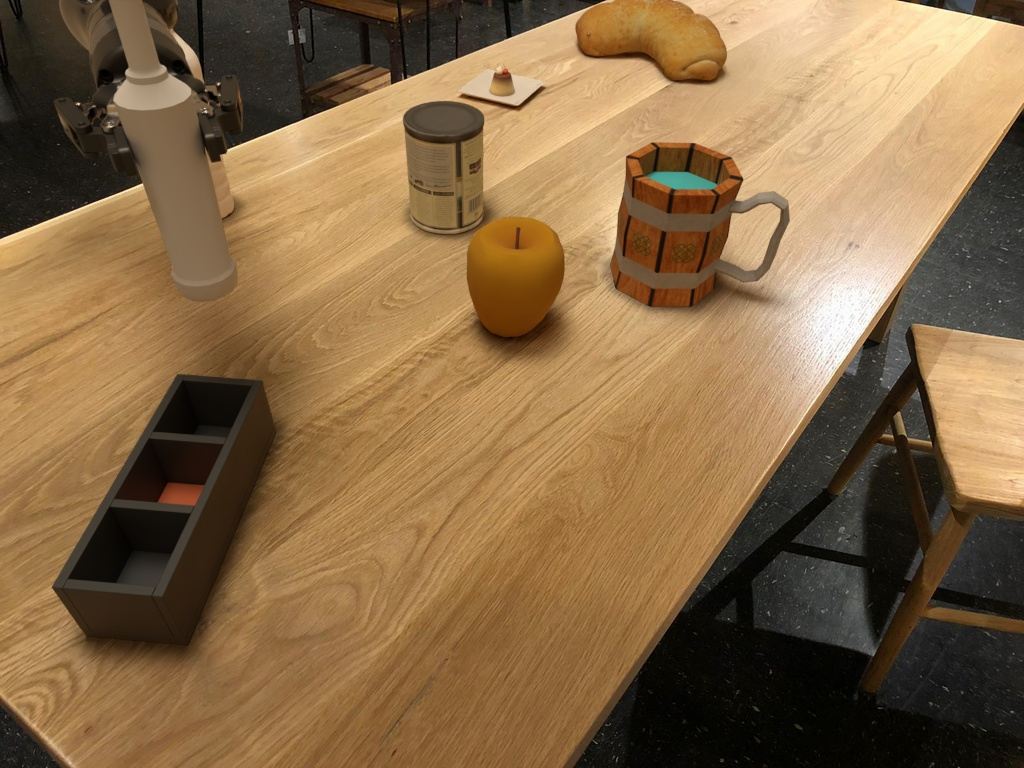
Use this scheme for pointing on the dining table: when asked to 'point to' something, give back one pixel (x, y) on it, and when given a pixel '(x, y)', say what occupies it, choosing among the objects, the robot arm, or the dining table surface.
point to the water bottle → (217, 167)
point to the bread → (655, 36)
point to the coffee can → (445, 166)
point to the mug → (682, 224)
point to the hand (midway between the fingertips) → (171, 157)
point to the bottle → (172, 162)
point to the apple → (514, 274)
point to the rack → (170, 513)
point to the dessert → (501, 87)
